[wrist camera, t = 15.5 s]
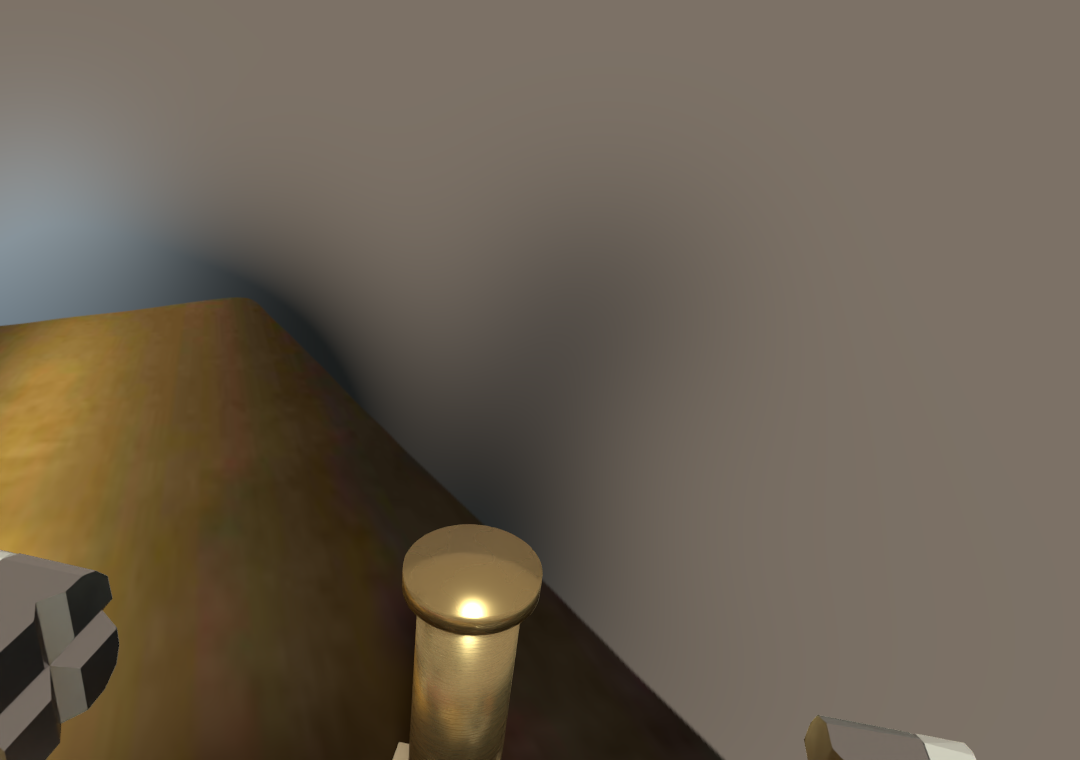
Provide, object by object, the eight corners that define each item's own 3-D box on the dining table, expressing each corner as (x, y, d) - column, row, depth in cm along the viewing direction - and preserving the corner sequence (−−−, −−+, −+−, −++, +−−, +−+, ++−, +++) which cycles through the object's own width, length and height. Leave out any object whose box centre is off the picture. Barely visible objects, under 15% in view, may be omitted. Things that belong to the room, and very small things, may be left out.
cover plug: (374, 864, 38) (383, 600, 31) (411, 760, 44) (425, 514, 36) (492, 891, 38) (530, 629, 31) (514, 783, 43) (551, 537, 36)
